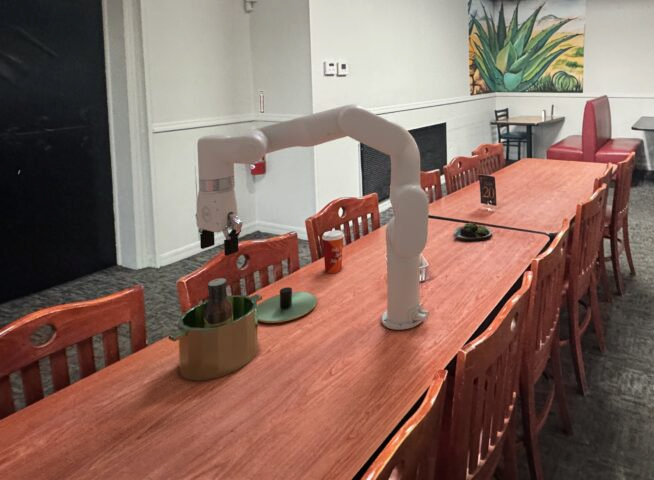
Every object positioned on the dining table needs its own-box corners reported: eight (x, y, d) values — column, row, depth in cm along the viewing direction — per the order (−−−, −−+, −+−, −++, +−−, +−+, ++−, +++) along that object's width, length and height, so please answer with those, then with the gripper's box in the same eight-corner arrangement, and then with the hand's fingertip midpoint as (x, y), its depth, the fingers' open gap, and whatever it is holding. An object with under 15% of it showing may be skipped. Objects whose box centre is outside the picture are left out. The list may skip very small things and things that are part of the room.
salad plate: (450, 228, 214) (450, 218, 214) (487, 225, 218) (487, 216, 218) (453, 242, 196) (454, 232, 195) (494, 240, 200) (494, 229, 199)
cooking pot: (280, 344, 121) (279, 299, 121) (193, 396, 102) (192, 342, 101) (240, 328, 128) (240, 286, 128) (152, 374, 109) (151, 324, 108)
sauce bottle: (214, 348, 118) (212, 275, 117) (238, 347, 119) (237, 274, 118) (198, 364, 112) (197, 287, 111) (225, 363, 112) (223, 286, 111)
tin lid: (329, 302, 144) (328, 283, 143) (280, 330, 128) (279, 309, 127) (291, 290, 151) (290, 272, 151) (240, 316, 135) (239, 296, 135)
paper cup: (336, 275, 163) (336, 237, 162) (317, 273, 164) (317, 235, 164) (348, 266, 171) (348, 230, 170) (330, 264, 172) (330, 228, 171)
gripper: (180, 183, 113) (183, 249, 114) (223, 191, 106) (226, 262, 107) (211, 177, 120) (213, 239, 121) (253, 184, 113) (255, 250, 114)
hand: (219, 250), depth 114 cm, fingers open, 9 cm apart
